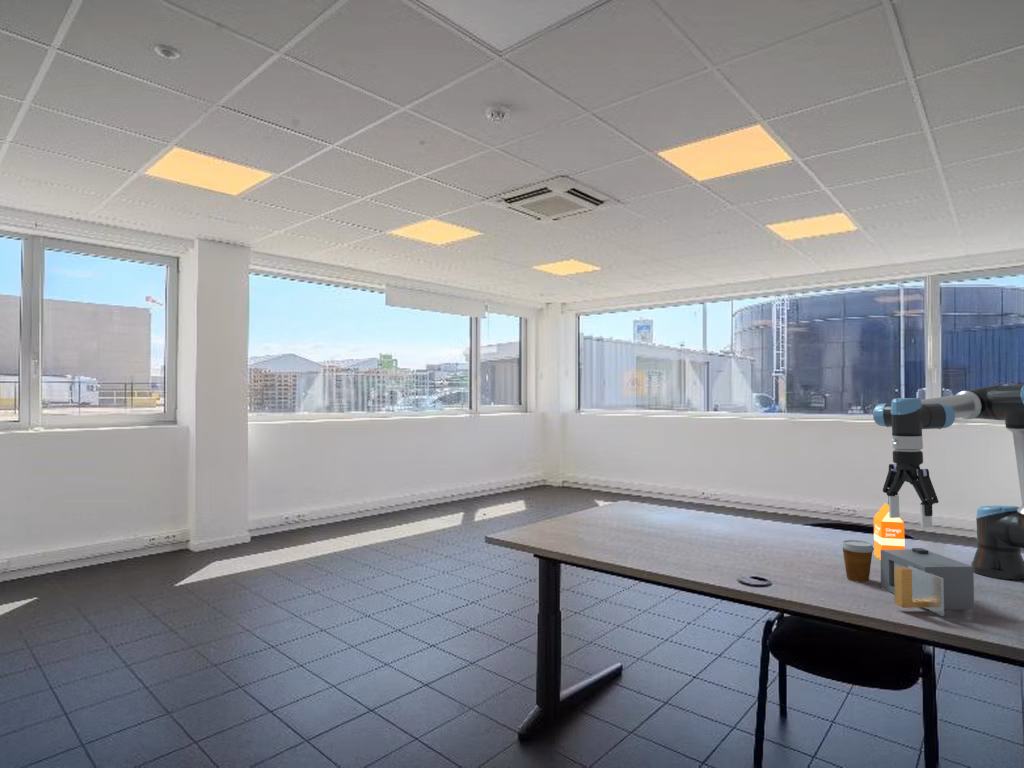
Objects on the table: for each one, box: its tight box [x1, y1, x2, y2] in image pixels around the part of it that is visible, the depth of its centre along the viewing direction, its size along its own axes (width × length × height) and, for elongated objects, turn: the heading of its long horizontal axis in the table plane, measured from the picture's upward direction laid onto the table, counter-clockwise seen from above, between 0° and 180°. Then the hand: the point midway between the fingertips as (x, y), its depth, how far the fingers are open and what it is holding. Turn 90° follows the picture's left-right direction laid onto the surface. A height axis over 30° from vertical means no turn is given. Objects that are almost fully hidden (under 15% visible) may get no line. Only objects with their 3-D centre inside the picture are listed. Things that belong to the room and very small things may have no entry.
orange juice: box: [872, 503, 906, 561], centre depth 227 cm, size 8×9×20 cm
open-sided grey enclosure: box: [880, 547, 975, 611], centre depth 182 cm, size 14×20×13 cm
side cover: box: [894, 565, 945, 617], centre depth 171 cm, size 8×13×11 cm, turn 2°
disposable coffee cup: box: [840, 539, 874, 583], centre depth 201 cm, size 10×10×12 cm
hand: (909, 522), depth 179 cm, fingers open, 13 cm apart
